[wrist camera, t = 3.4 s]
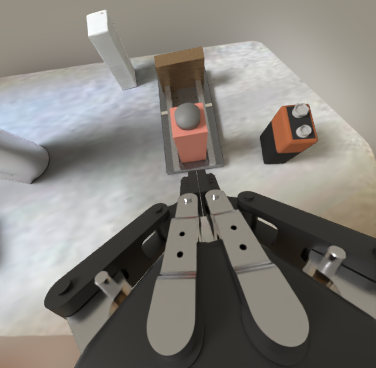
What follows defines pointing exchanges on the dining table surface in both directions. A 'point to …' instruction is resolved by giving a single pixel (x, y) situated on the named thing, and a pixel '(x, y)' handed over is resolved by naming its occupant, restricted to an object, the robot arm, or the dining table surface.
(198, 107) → the pink dome-topped pillar
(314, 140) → the battery
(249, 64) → the dining table surface
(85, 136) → the dining table surface
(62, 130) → the dining table surface
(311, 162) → the dining table surface
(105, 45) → the skincare box
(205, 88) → the rail
